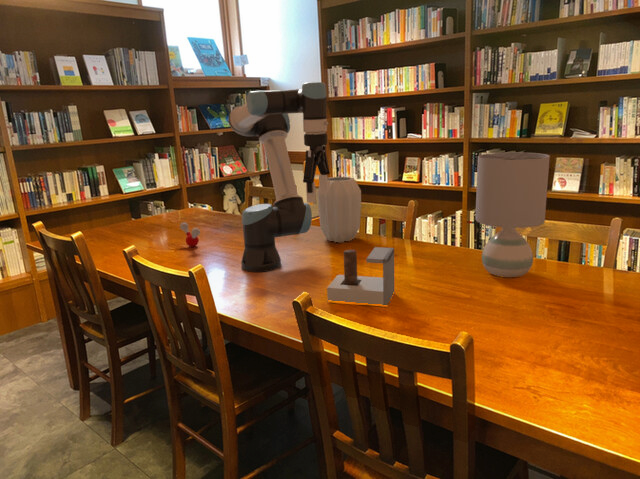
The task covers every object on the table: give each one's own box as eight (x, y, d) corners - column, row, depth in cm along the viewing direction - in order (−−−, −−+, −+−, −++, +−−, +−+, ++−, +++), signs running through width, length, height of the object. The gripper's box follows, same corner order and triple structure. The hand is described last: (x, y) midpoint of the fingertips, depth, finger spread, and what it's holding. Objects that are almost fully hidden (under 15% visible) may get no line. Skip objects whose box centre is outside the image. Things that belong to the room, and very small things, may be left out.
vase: (312, 237, 229) (309, 178, 222) (350, 231, 237) (348, 174, 229) (329, 247, 212) (327, 183, 205) (369, 241, 219) (368, 179, 212)
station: (327, 302, 154) (325, 256, 150) (338, 288, 165) (336, 245, 161) (387, 307, 148) (387, 259, 144) (394, 293, 159) (394, 248, 155)
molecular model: (177, 244, 228) (175, 223, 226) (189, 241, 232) (186, 220, 229) (195, 251, 215) (193, 229, 213) (208, 248, 219) (205, 226, 216)
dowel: (343, 298, 156) (342, 253, 152) (347, 294, 160) (345, 249, 156) (356, 299, 155) (354, 253, 151) (359, 295, 159) (357, 250, 155)
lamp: (491, 260, 186) (497, 151, 175) (550, 272, 171) (560, 153, 160) (461, 275, 172) (465, 158, 161) (523, 290, 156) (532, 161, 146)
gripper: (314, 136, 146) (317, 206, 153) (337, 129, 169) (338, 190, 175) (290, 136, 149) (294, 206, 155) (316, 129, 171) (318, 190, 178)
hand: (317, 198), depth 165 cm, fingers open, 13 cm apart
